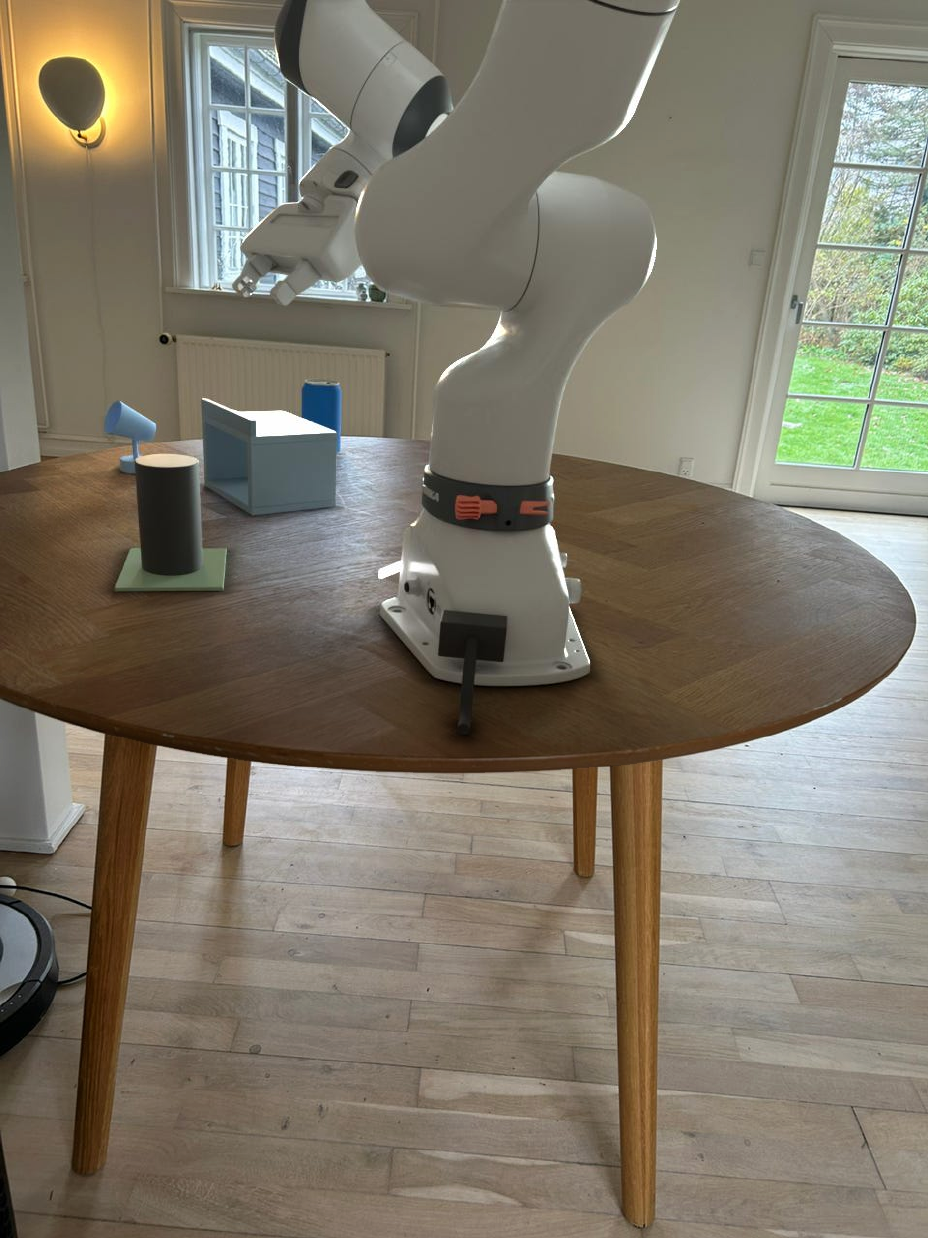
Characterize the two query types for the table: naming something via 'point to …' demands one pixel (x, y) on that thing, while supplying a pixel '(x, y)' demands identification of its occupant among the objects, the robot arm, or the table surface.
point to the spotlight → (128, 430)
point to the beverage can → (323, 404)
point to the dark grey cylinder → (169, 513)
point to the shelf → (268, 460)
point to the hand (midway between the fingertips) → (256, 296)
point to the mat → (200, 580)
